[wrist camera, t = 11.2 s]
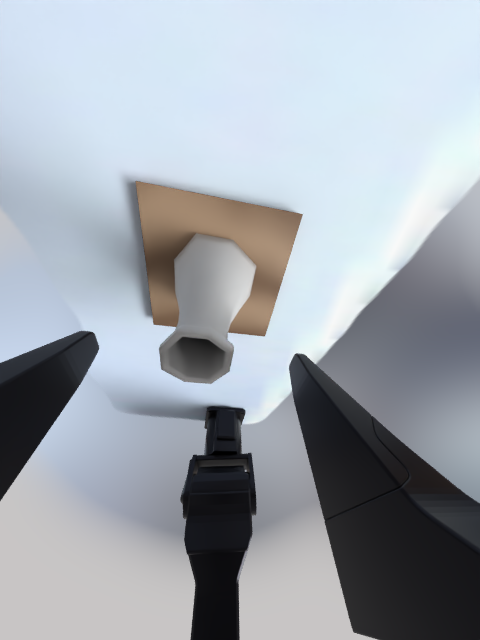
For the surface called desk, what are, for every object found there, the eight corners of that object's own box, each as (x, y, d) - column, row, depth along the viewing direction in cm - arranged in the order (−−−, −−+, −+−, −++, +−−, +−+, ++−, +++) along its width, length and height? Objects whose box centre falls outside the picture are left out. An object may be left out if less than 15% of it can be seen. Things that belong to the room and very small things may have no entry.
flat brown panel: (262, 325, 22) (264, 336, 20) (160, 314, 20) (153, 324, 19) (294, 212, 15) (302, 214, 13) (147, 183, 14) (135, 180, 12)
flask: (189, 214, 13) (118, 238, 5) (270, 260, 15) (316, 331, 7) (163, 293, 17) (95, 386, 8) (232, 322, 19) (232, 418, 10)
